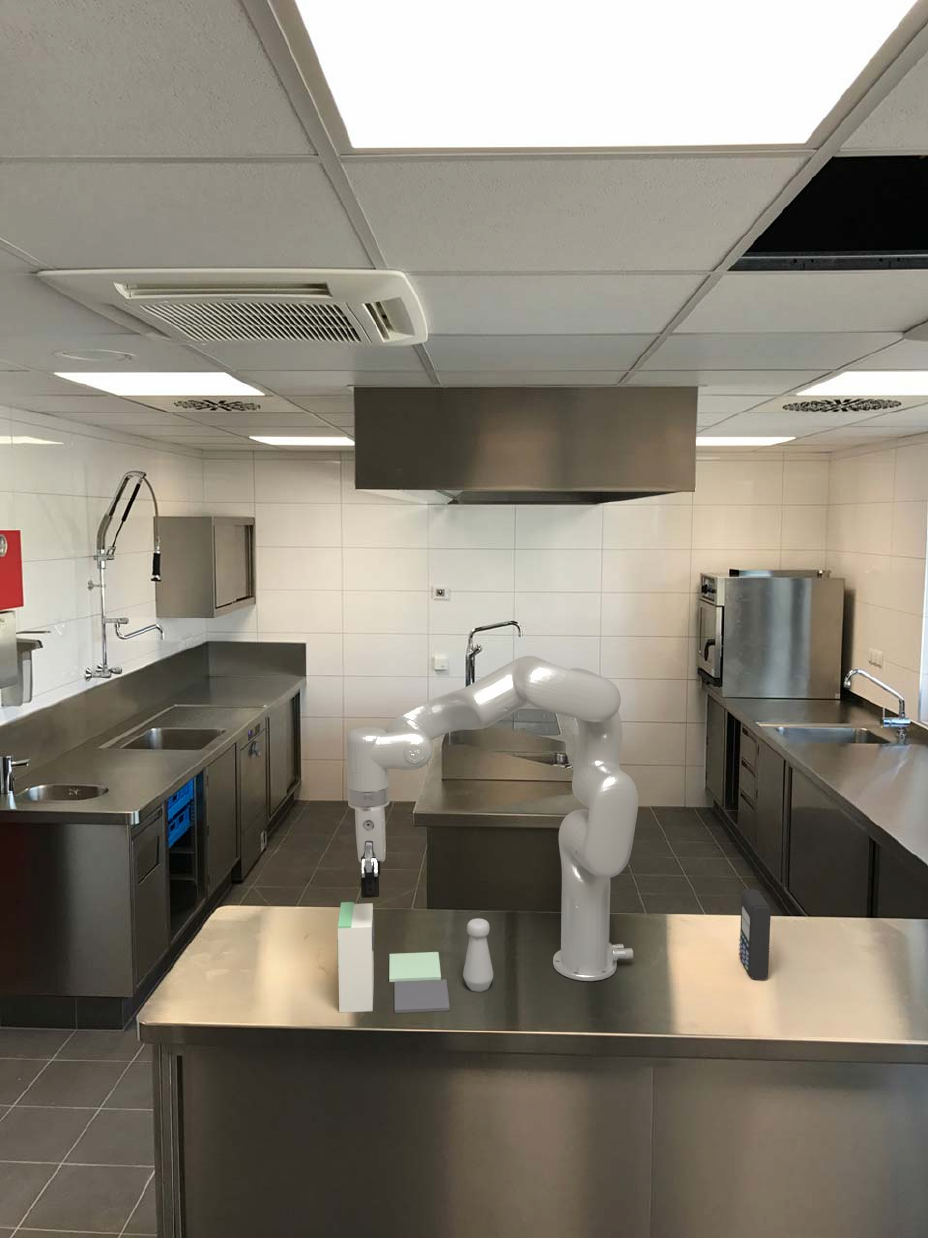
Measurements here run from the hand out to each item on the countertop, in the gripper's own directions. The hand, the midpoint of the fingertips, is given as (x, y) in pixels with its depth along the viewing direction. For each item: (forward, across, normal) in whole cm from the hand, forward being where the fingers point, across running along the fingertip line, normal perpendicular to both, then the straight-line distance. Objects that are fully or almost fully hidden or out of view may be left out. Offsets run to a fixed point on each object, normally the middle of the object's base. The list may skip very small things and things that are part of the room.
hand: (371, 885), depth 163 cm
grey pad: (+22, -1, -9) cm, 24 cm away
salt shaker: (+22, +2, -20) cm, 30 cm away
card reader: (+23, +4, -75) cm, 78 cm away
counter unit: (+22, 0, +3) cm, 22 cm away
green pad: (+22, +10, -8) cm, 25 cm away
